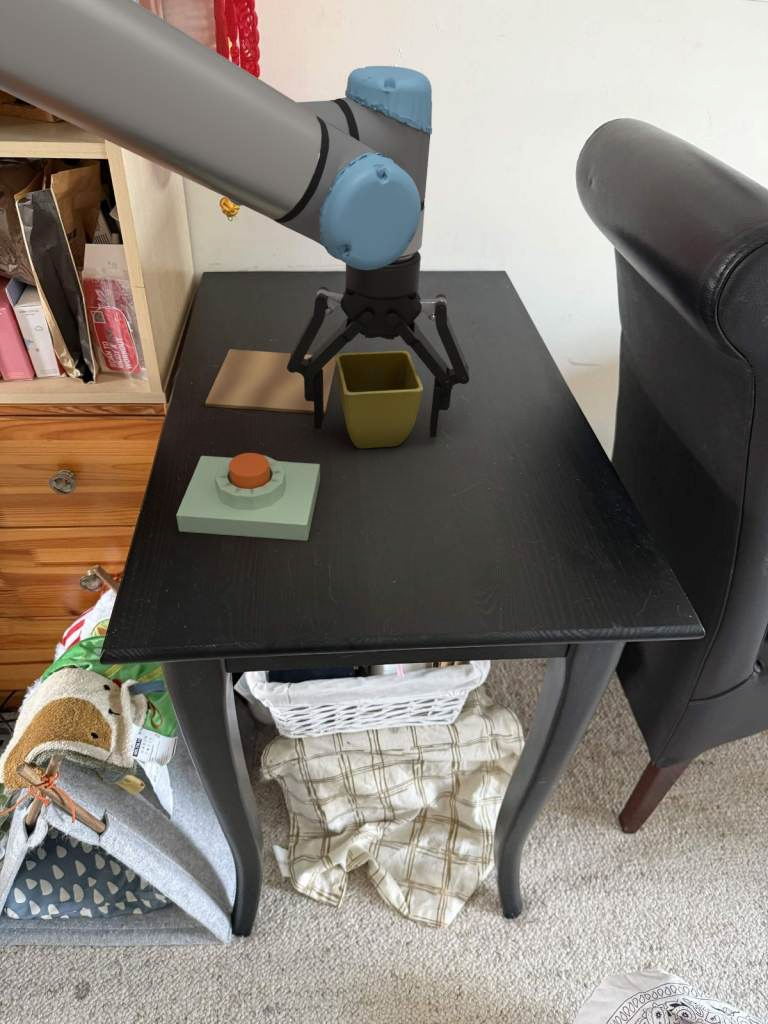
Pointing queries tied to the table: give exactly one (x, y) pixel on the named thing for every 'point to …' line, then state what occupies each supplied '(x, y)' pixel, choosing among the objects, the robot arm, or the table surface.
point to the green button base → (250, 501)
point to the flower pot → (378, 396)
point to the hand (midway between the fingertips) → (376, 427)
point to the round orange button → (249, 470)
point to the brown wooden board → (264, 383)
